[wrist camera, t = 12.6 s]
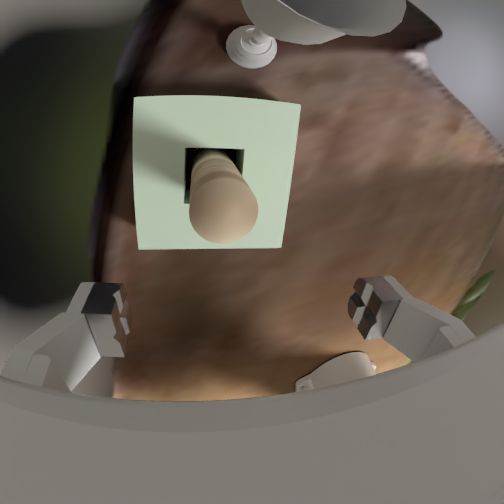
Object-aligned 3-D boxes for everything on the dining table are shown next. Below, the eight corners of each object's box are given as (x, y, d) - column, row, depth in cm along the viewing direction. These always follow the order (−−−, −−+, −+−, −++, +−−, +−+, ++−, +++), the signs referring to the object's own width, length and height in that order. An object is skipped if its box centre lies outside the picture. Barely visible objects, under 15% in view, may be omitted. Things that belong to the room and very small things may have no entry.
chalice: (293, 27, 20) (407, -36, 5) (280, 83, 24) (399, 63, 8) (222, 12, 19) (263, -96, 3) (208, 69, 22) (228, 2, 6)
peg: (230, 185, 28) (254, 243, 17) (191, 185, 27) (189, 244, 16) (232, 148, 26) (261, 179, 15) (192, 147, 25) (189, 178, 14)
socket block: (270, 229, 31) (281, 247, 28) (145, 229, 29) (138, 249, 25) (285, 104, 25) (300, 104, 21) (144, 99, 22) (134, 97, 18)
